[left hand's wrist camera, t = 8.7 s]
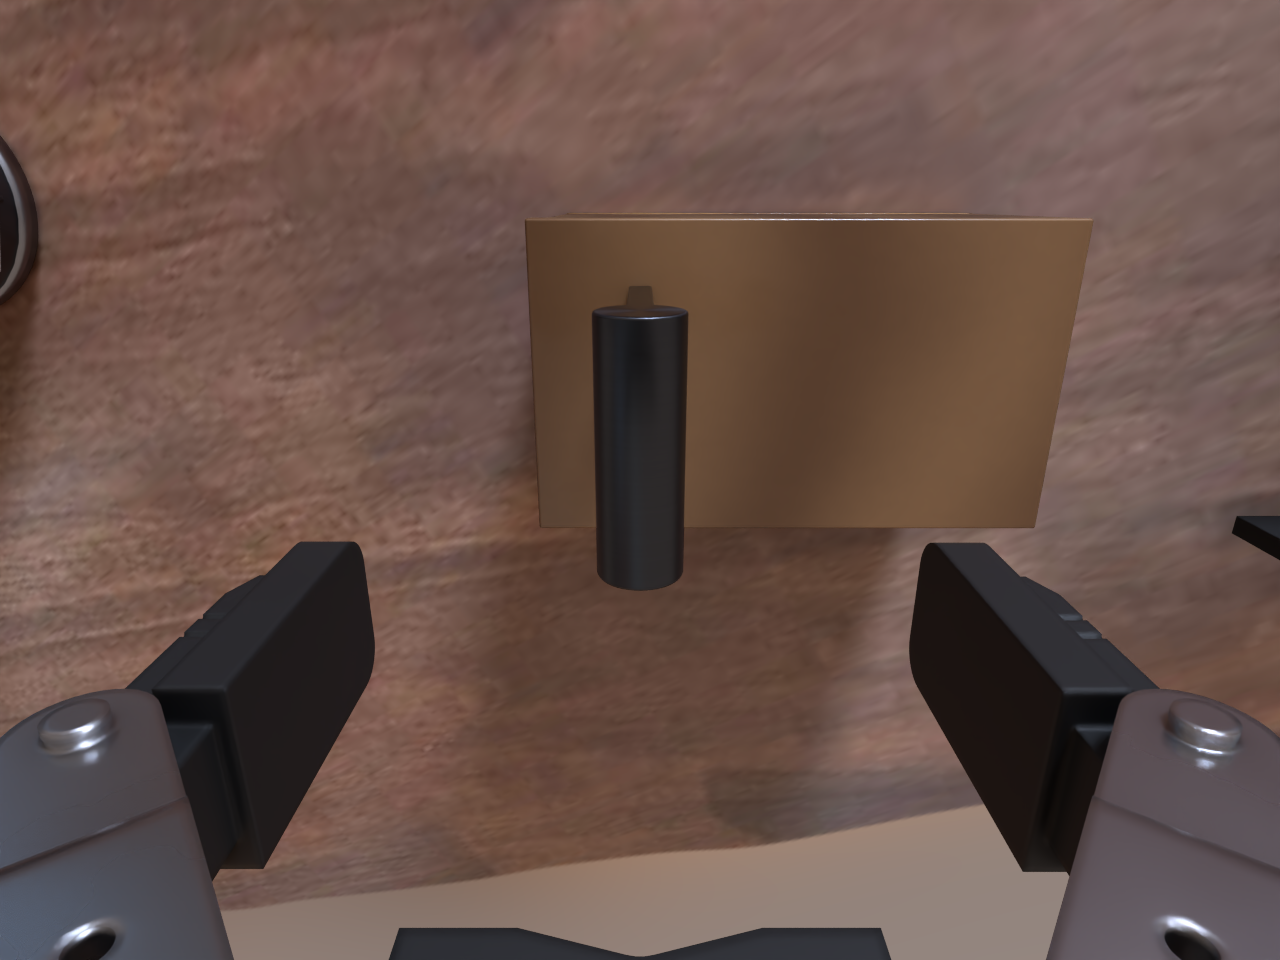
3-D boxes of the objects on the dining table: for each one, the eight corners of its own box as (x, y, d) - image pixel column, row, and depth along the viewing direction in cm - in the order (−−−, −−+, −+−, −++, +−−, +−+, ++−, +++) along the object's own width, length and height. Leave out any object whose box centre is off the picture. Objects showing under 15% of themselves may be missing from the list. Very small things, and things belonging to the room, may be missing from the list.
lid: (543, 515, 27) (499, 656, 19) (529, 217, 24) (468, 226, 15) (1019, 515, 27) (1189, 657, 19) (1074, 217, 24) (1312, 227, 15)
